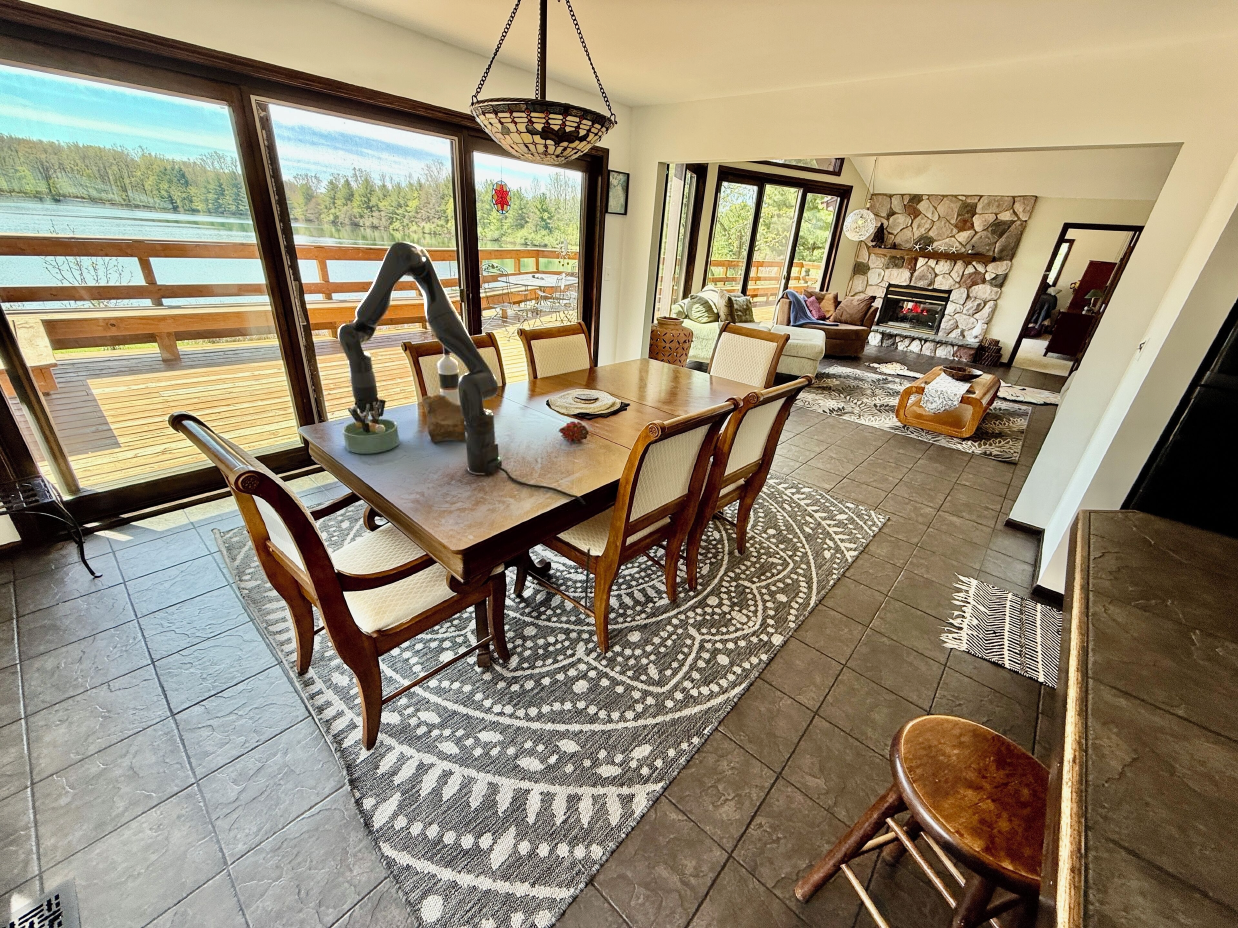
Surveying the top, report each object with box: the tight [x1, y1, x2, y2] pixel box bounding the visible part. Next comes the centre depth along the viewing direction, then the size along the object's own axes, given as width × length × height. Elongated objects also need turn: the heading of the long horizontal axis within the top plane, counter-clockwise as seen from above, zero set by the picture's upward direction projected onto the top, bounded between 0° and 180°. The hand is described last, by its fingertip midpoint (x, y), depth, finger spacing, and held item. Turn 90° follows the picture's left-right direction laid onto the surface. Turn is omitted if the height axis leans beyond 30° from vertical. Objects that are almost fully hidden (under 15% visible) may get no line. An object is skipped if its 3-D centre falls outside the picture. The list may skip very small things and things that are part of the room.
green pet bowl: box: [342, 418, 400, 455], centre depth 171 cm, size 17×17×7 cm
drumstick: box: [354, 418, 385, 434], centre depth 168 cm, size 12×5×5 cm, turn 65°
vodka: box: [436, 345, 460, 405], centre depth 203 cm, size 9×9×30 cm
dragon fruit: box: [558, 421, 589, 444], centre depth 186 cm, size 8×8×12 cm
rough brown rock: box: [421, 394, 466, 443], centre depth 179 cm, size 23×17×15 cm
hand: (371, 430), depth 169 cm, fingers closed on drumstick, 3 cm apart
